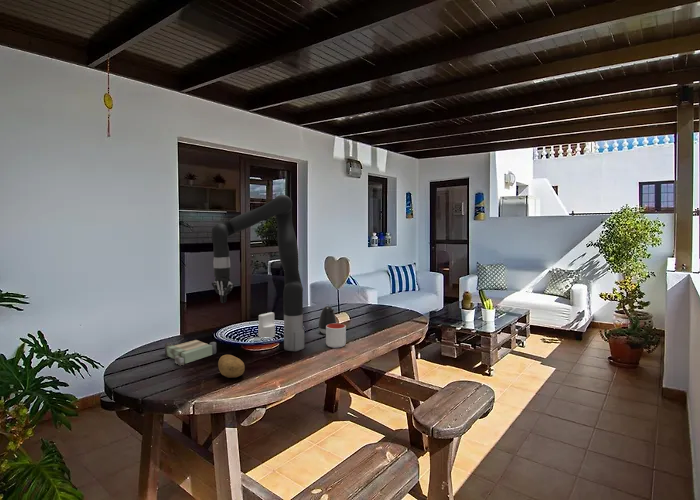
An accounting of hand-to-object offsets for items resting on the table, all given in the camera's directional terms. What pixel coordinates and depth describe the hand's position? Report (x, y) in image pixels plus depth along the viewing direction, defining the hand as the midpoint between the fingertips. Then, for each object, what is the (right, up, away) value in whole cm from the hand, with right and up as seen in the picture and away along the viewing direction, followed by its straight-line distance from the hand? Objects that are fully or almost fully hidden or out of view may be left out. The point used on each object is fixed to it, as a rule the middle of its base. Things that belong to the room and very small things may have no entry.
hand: (223, 302), depth 191 cm
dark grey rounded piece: (+48, -22, +33) cm, 62 cm away
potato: (+12, -27, -27) cm, 40 cm away
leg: (-9, -24, -7) cm, 27 cm away
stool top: (-16, -24, -4) cm, 29 cm away
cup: (+53, -24, +13) cm, 59 cm away
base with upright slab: (+15, -22, +27) cm, 38 cm away
